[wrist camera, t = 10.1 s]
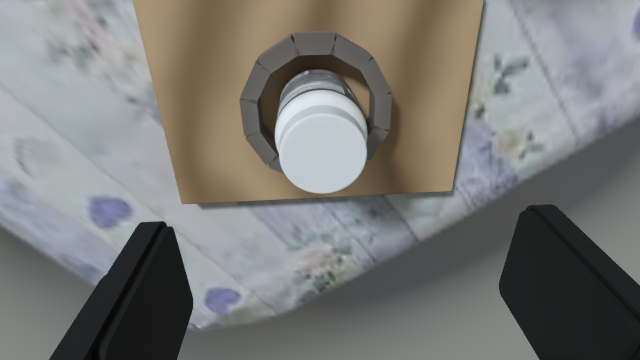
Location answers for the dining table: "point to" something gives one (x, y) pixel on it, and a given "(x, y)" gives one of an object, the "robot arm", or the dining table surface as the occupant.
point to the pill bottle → (320, 132)
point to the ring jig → (292, 57)
